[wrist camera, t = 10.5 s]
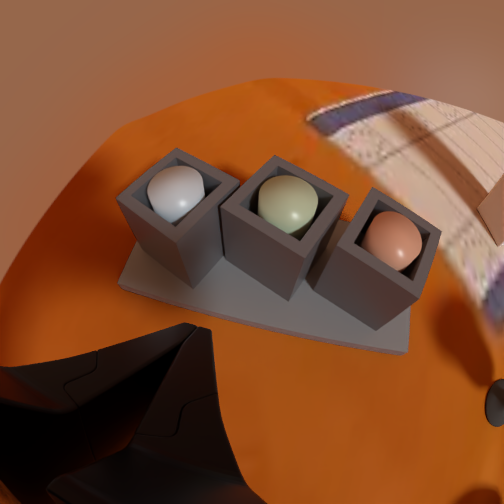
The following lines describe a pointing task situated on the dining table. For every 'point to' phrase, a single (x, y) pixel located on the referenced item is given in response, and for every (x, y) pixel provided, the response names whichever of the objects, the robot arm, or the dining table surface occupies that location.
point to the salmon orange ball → (392, 240)
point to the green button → (288, 204)
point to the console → (275, 260)
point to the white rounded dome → (176, 193)
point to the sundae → (495, 404)
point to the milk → (494, 211)
